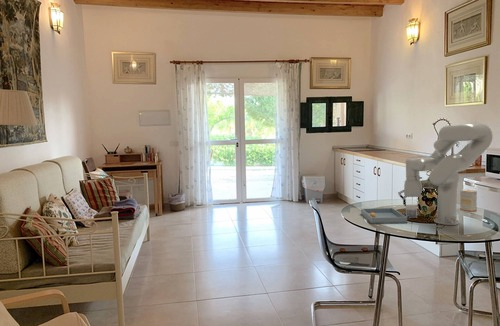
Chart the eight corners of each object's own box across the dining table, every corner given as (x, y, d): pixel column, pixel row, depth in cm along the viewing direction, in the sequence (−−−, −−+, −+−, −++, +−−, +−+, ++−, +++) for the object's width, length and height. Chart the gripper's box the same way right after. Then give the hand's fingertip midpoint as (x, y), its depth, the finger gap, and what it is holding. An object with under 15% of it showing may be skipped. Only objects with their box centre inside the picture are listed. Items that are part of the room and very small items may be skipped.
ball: (374, 216, 216) (374, 211, 215) (376, 218, 212) (376, 213, 211) (368, 217, 215) (368, 212, 215) (371, 219, 212) (371, 214, 211)
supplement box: (477, 211, 225) (477, 190, 224) (471, 212, 223) (472, 191, 222) (464, 208, 233) (465, 189, 232) (459, 209, 231) (460, 189, 230)
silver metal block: (416, 219, 212) (417, 209, 211) (406, 218, 214) (406, 208, 214) (416, 214, 223) (416, 205, 222) (405, 213, 225) (405, 204, 225)
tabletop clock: (438, 204, 247) (438, 169, 245) (445, 207, 238) (446, 170, 236) (417, 205, 248) (418, 169, 245) (424, 208, 238) (424, 171, 236)
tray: (407, 223, 203) (407, 217, 203) (371, 223, 205) (371, 217, 204) (392, 213, 227) (392, 208, 227) (361, 214, 228) (361, 208, 228)
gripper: (427, 177, 218) (428, 205, 219) (397, 178, 225) (398, 204, 226) (428, 179, 211) (429, 207, 212) (397, 179, 218) (398, 206, 219)
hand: (413, 205), depth 219 cm, fingers open, 9 cm apart
